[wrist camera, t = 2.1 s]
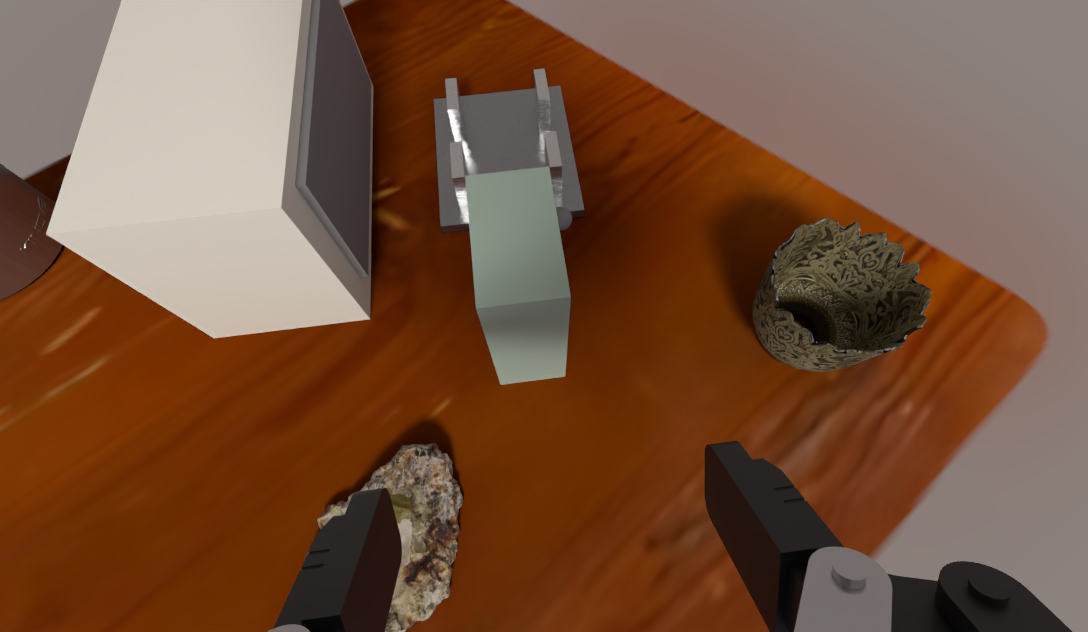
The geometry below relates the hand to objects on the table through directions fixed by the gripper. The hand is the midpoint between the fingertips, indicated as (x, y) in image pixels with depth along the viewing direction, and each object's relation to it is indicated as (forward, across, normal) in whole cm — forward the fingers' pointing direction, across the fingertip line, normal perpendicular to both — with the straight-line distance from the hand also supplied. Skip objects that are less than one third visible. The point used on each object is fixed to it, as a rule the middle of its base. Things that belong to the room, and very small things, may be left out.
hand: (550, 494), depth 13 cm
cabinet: (+29, +15, -6) cm, 33 cm away
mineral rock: (+12, +9, +12) cm, 19 cm away
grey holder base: (+30, 0, -6) cm, 31 cm away
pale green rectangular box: (+20, 0, +3) cm, 20 cm away
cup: (+18, -16, +6) cm, 25 cm away
